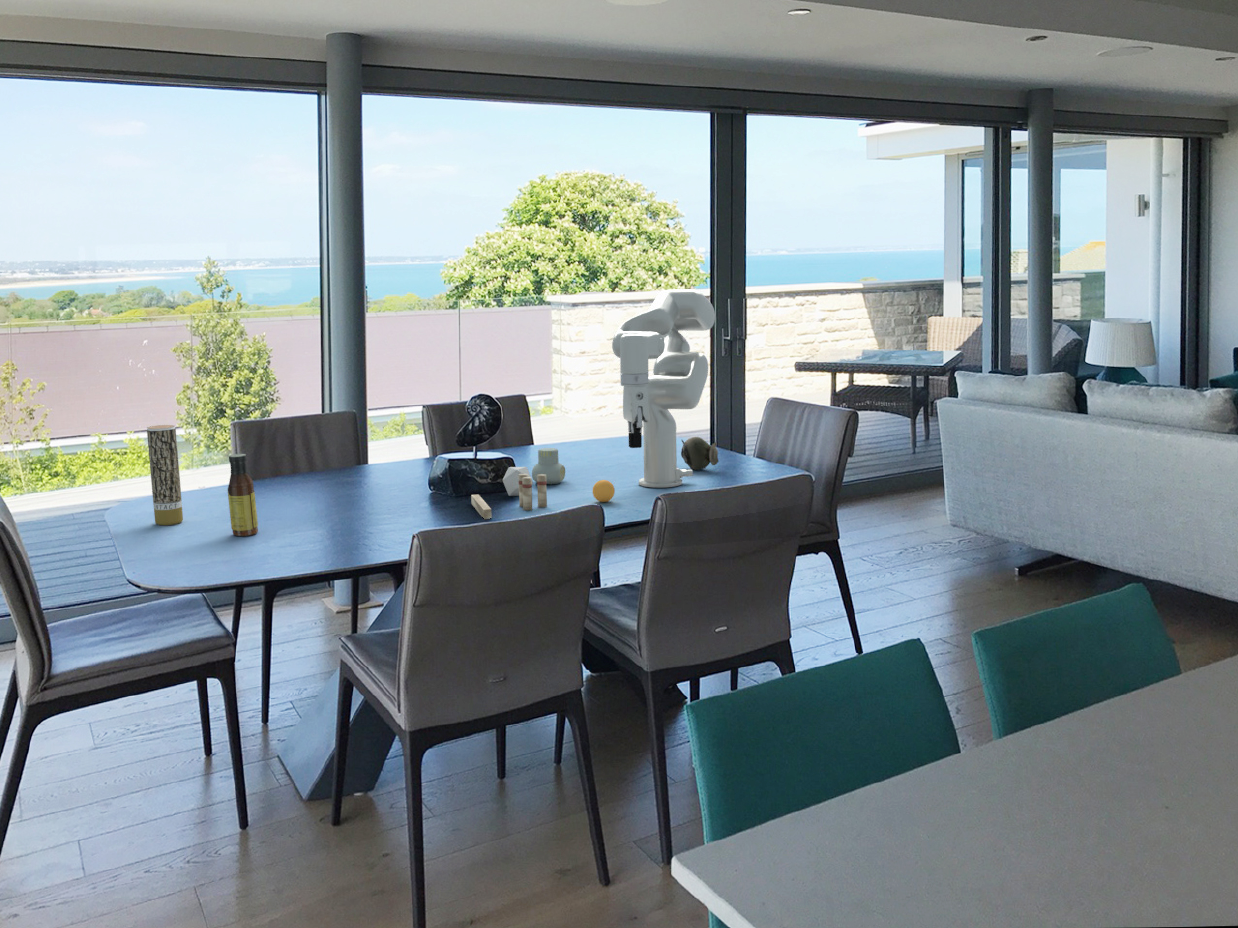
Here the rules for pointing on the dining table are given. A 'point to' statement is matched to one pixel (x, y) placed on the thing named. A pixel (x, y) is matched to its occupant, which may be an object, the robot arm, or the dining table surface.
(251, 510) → the sauce bottle
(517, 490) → the die
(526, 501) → the pin
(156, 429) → the paper tube
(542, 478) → the front pin
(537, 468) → the air freshener
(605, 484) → the ball
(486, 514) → the backstop
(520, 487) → the pin
